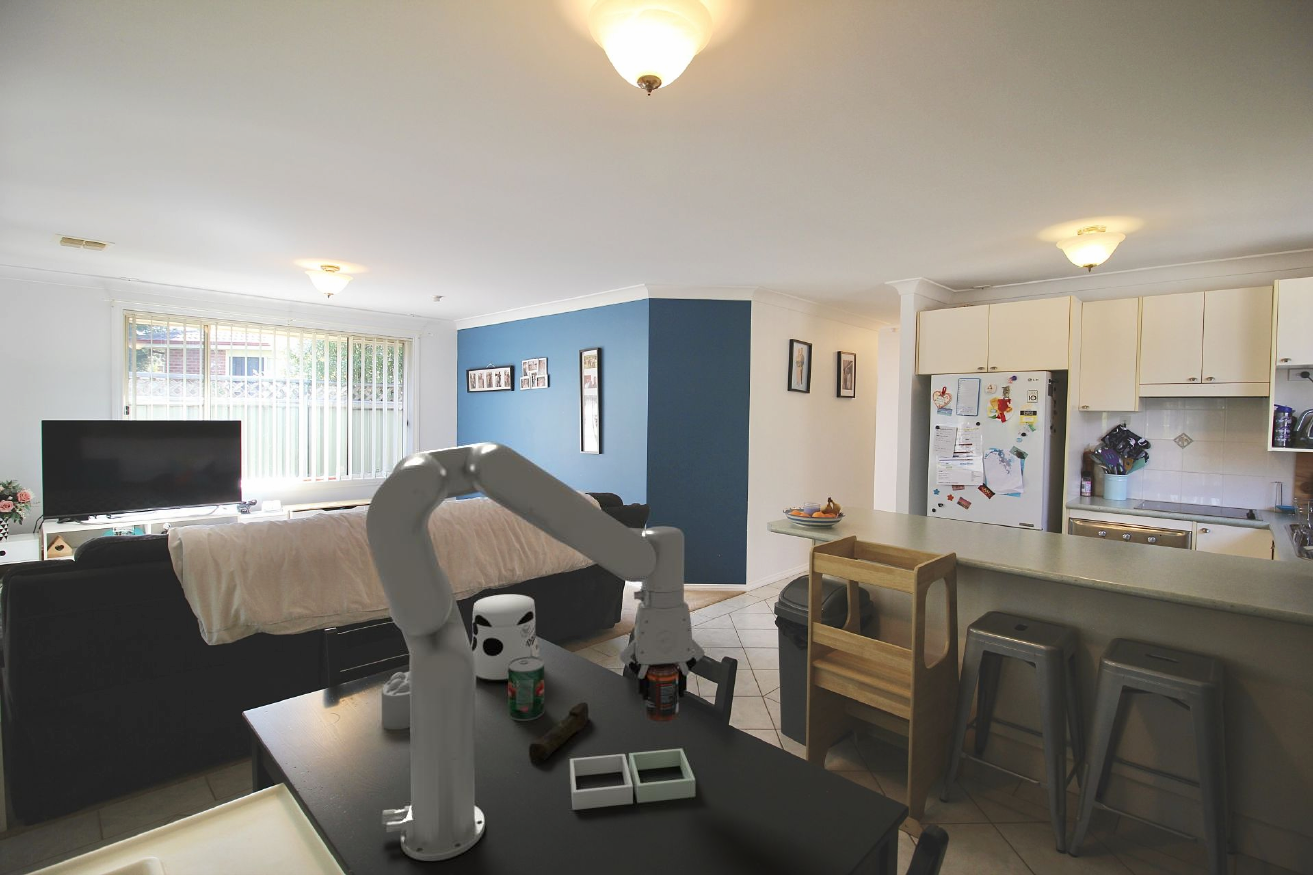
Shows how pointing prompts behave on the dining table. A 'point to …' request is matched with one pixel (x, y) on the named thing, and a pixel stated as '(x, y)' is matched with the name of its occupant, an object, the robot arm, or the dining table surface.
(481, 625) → the milk container
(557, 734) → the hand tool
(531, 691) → the canned tomato
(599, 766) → the grey bin
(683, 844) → the dining table surface
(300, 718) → the dining table surface
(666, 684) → the supplement bottle
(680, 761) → the sage bin
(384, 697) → the lumpy-topped squat cylinder
